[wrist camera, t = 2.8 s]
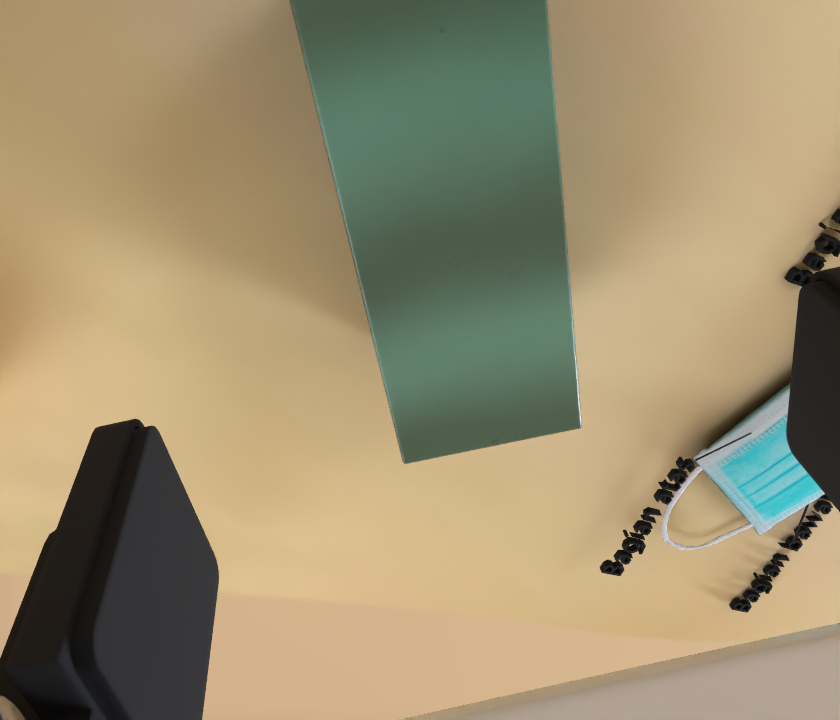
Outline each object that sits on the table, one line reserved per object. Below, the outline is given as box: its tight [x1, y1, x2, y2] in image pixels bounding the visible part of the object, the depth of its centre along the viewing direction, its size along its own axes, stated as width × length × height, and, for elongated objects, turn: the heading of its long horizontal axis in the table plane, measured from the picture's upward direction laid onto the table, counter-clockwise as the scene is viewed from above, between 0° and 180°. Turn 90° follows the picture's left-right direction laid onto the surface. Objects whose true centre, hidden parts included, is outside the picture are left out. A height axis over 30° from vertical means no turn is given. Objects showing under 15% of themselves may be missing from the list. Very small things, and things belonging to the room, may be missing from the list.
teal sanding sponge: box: [290, 0, 582, 464], centre depth 19 cm, size 11×4×5 cm, turn 10°
